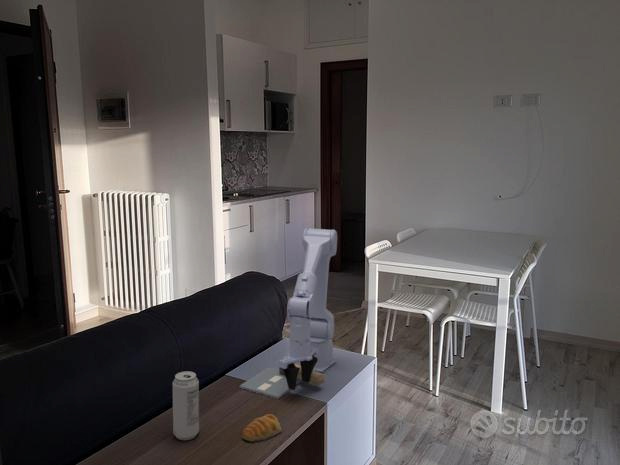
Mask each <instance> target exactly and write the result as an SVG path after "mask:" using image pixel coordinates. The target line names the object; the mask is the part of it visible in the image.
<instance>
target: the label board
mask: <svg viewBox="0 0 620 465" xmlns="http://www.w3.org/2000/svg"><path fill="white" fill-rule="evenodd" d="M302 382H303V381H302V380H301V379H298V378H297V381H296V387H297V386H298V385H299V384H301V383H302ZM240 388H242V389H241V390H244V389H246V390H245V391H247V390H249V391H248V392H251V391H252V393H254V392H256V393H255V394H258V393H260V394H259V395H261V394H263V395H262V396H265V395H266V396H265V397H268V396H270V397H269V398H272V397H273V398H272V399H275V398H276V400H279V398H280V397H281V398H282V397H283V395H284V396H285V395H286V394H288V393H289V392H290V391H292V389H289V388H288V384H287V380H286V377H285V374H280V373H279V369H276V368H273V367H269V366H268V367H266V368H265V369H263V370H262V371H259V372H258V373H257V374H256V375H255V374H254V376H252V377H251V378H250V379H247V380H246V381H245V382H243V383H242V384H239V389H240ZM281 398H280V399H281Z"/></svg>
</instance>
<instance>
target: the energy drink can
mask: <svg viewBox="0 0 620 465" xmlns="http://www.w3.org/2000/svg"><path fill="white" fill-rule="evenodd" d="M199 389H200V381H199V379H198V378H197V374H196V373H195V372H193V371H187V370H186V371H181V372H177V373H176V374H175V375H174V379H173V381H172V426H173V430H172V431H173V432H172V433H173V435H174V436H175V437H176V439H177V440H178V441H179V440H180V441H189V440H192V439H195V438H196V436H197V435H198V433H199V432H200V390H199Z"/></svg>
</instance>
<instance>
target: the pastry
mask: <svg viewBox="0 0 620 465" xmlns="http://www.w3.org/2000/svg"><path fill="white" fill-rule="evenodd" d="M281 431H282V427H281V423H280V422H279V419H278V418H277V417H276V415H274V414H269V413H267V414H265V415H263V416H260V417H256V418H254V419H253V420H252V421H251V422H250V423H249V424H248V425H246V426H245V427H244V428H243V430H242V436H241V438H242V439H244V440H246V441H248V442H257V441H264V440H265V441H266V440H267V439H270V438H272V437H271V436H273V437H275V436H276V434H277V435H278V433H279V434H280V432H281ZM274 435H275V436H274ZM269 437H270V438H269Z"/></svg>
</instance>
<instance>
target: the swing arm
mask: <svg viewBox="0 0 620 465" xmlns="http://www.w3.org/2000/svg"><path fill="white" fill-rule="evenodd" d="M294 365H295V367H298V368H300V370H299V372H298V375H297V378H298V379H301V380H302V377H301V366H300V365H301V364H298V363H294ZM278 368H279V369H278V370H279V373H280V374H284V372H283V370H282V369H281V368H280V367H279V366H278ZM324 379H325V374H324V373H323V372H318V371H314V370H313V371H312V374H311V377H310V381H309V383H308V384H311V385H314V386H316V387H319V386H320V385H322V384H324V383H325V382H324V381H325V380H324Z"/></svg>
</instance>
